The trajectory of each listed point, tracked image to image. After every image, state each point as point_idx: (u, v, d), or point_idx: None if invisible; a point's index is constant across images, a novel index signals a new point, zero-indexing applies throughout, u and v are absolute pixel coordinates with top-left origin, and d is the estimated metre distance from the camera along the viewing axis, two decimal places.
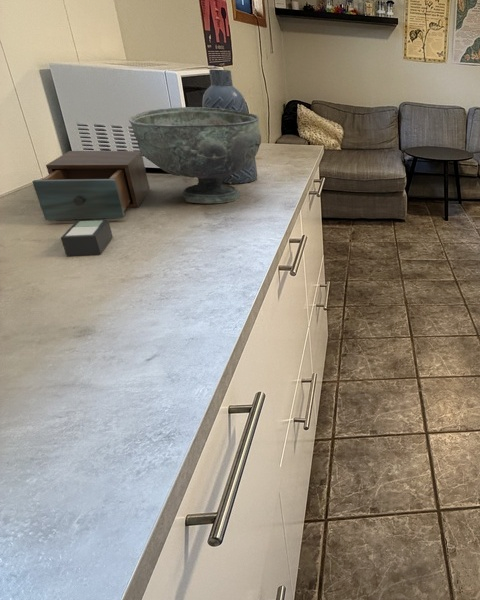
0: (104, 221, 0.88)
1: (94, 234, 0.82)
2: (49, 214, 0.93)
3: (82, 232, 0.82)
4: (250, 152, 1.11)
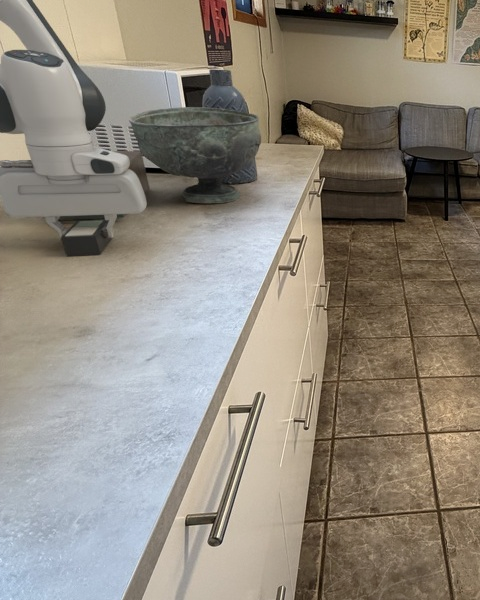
0: (104, 221, 0.88)
1: (94, 234, 0.82)
2: None
3: (82, 232, 0.82)
4: (250, 152, 1.11)
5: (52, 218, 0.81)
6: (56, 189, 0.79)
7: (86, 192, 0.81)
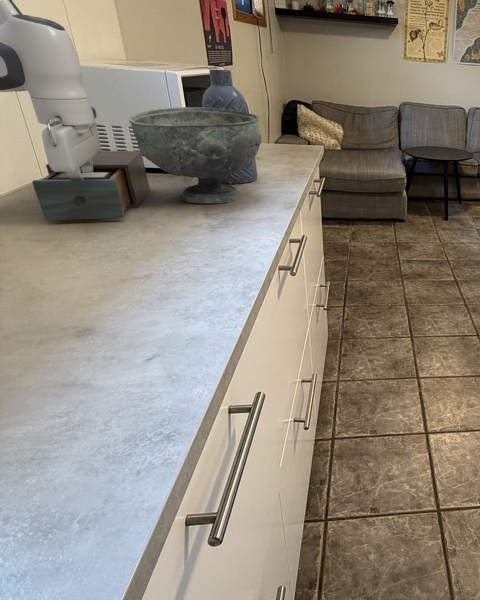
0: (64, 173, 0.97)
1: None
2: (49, 214, 0.93)
3: (100, 174, 0.98)
4: (250, 152, 1.11)
5: (79, 168, 0.93)
6: (77, 139, 0.92)
7: (84, 139, 0.96)
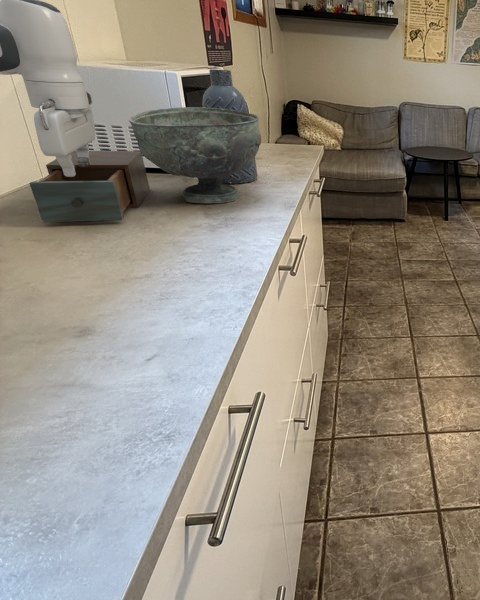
0: None
1: None
2: (47, 216, 0.92)
3: None
4: (250, 152, 1.11)
5: (70, 154, 0.90)
6: (71, 124, 0.90)
7: (79, 124, 0.94)
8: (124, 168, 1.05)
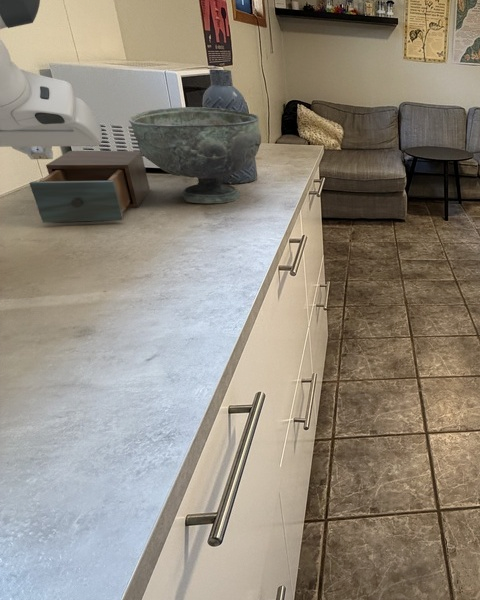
0: None
1: None
2: (47, 216, 0.92)
3: None
4: (250, 152, 1.11)
5: None
6: None
7: (33, 129, 0.72)
8: (124, 168, 1.05)
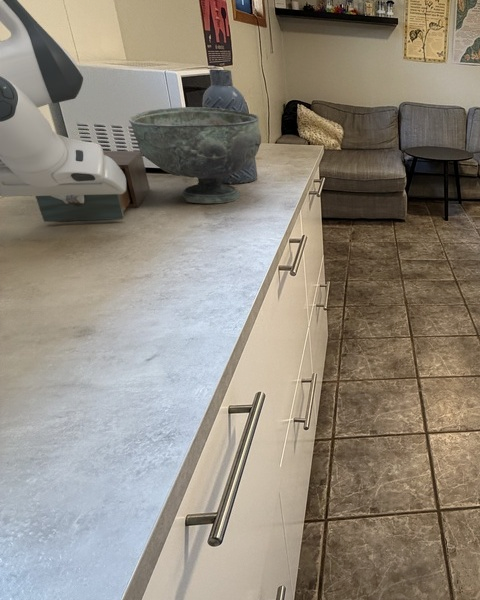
0: None
1: None
2: (48, 215, 0.93)
3: None
4: (250, 152, 1.11)
5: None
6: None
7: (68, 183, 0.84)
8: None
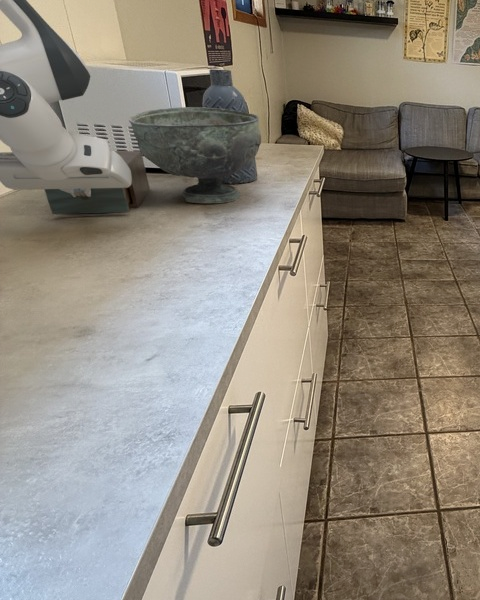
0: None
1: None
2: (56, 208, 0.97)
3: None
4: (250, 152, 1.11)
5: None
6: None
7: (77, 177, 0.88)
8: None
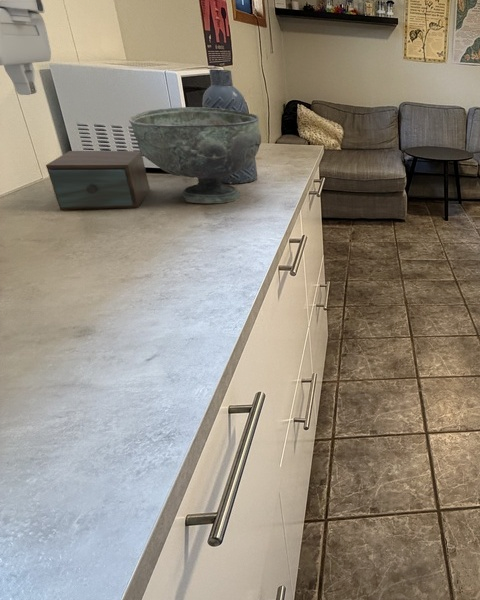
0: None
1: None
2: (64, 201, 1.01)
3: None
4: (250, 152, 1.11)
5: (23, 66, 0.74)
6: (14, 29, 0.72)
7: (26, 34, 0.76)
8: None
